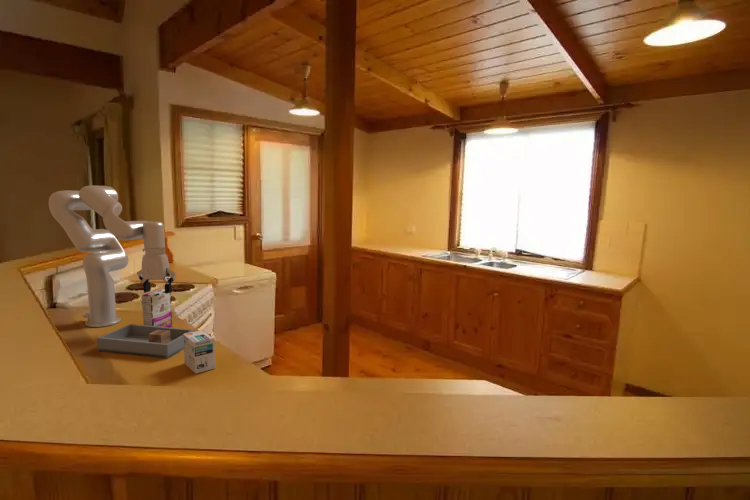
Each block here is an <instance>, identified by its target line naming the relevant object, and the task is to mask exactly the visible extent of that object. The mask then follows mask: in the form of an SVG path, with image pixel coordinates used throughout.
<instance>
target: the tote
mask: <svg viewBox="0 0 750 500" xmlns="http://www.w3.org/2000/svg"><path fill="white" fill-rule="evenodd" d="M156 330H169V331H170V341H171V342H169V343H167V344H165V343H155V342H149V334H150V333H152V332H154V331H156ZM191 332H196V329H189V328H179V327H158V326H147V325H144V324H135V323H129V324H126V325H124V326H122V327H120V328H118V329H116V330H113V331H110V332H108V333H106V334H104V335H100V336H98V337H96V351H97V352H102V353H112V354H120V355H128V354H129V355H132V356H137V357H138V356H140V357H150V358H158V359H159V358H160V359H167V360H168V359H169V358H171V357H173V356H174V355H176V354H178V353H179V352H182V351H184V337H183V334H185V333H191Z"/></svg>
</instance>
